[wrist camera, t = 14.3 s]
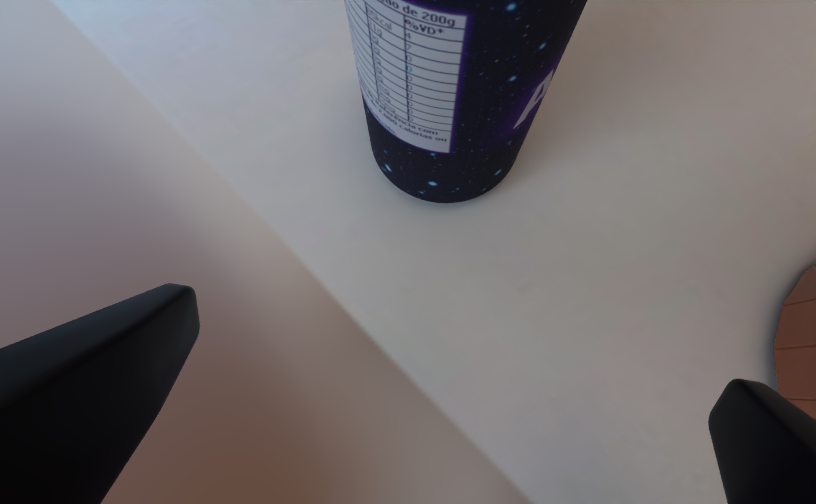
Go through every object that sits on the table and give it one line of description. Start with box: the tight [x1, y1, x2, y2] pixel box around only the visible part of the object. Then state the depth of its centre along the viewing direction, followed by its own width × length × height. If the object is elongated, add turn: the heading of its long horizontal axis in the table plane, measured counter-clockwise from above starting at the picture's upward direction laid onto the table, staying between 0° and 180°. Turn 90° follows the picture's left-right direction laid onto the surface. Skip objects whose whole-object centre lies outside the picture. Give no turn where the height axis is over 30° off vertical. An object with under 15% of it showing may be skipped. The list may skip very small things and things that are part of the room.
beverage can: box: [344, 0, 587, 203], centre depth 13 cm, size 6×6×12 cm
